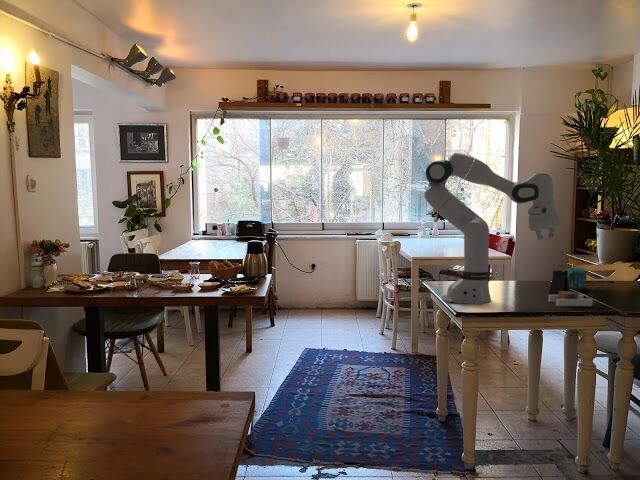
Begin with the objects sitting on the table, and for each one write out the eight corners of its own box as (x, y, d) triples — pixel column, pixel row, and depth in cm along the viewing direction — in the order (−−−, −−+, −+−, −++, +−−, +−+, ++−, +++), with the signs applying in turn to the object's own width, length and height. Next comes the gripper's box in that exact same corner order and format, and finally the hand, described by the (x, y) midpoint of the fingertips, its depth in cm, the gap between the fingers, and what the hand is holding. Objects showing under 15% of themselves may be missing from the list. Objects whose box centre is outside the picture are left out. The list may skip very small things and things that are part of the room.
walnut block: (563, 305, 226) (564, 293, 226) (558, 302, 232) (558, 291, 232) (577, 305, 226) (577, 293, 225) (571, 302, 232) (571, 291, 231)
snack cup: (573, 291, 260) (574, 271, 259) (556, 288, 269) (557, 269, 268) (594, 288, 266) (595, 269, 265) (577, 285, 276) (577, 266, 275)
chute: (557, 308, 224) (557, 299, 224) (548, 303, 234) (548, 294, 234) (592, 308, 224) (592, 299, 223) (581, 303, 234) (582, 294, 233)
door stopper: (559, 295, 252) (560, 271, 250) (548, 293, 257) (549, 269, 256) (570, 293, 256) (571, 269, 255) (559, 291, 261) (560, 268, 260)
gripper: (549, 207, 241) (550, 236, 242) (525, 210, 229) (527, 241, 229) (562, 206, 236) (563, 236, 237) (538, 210, 224) (540, 241, 224)
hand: (545, 238), depth 233 cm, fingers open, 8 cm apart
